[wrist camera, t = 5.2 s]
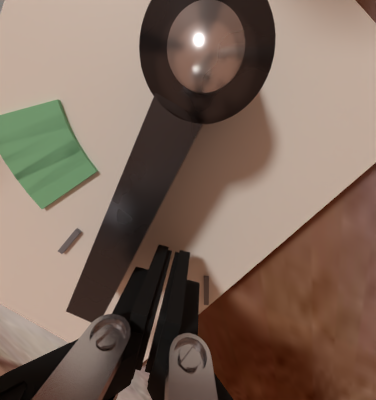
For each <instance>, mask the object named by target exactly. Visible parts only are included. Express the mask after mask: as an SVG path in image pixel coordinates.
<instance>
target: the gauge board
mask: <svg viewBox="0 0 376 400" xmlns="http://www.w3.org/2000/svg"><path fill="white" fill-rule="evenodd" d="M150 1H151V0H5V1H4V4H3V7H2V10H1V14H0V304H2V305H3V306H5V307H7V308H9V309H10V310H12V311H14V312H16V313H17V314H19V315H21V316H23V317H24V318H26V319H28V320H30V321H32V322H33V323H35V324H37V325H39V326H40V327H42V328H44V329H46V330H47V331H49V332H51V333H53V334H54V335H56V336H58V337H60V338H61V339H63V340H65V341H67V342H68V343H71V342H73V341H75V340H77V339H79V338H80V337H81V335H82V334H83V333H84V332H85V330H86V329H87V328H88V326H89V325H90V324H91V322H89V321H86V320H84V319H82V318H80V317H77V316H75V315H73V314H71V313H68V312H66V310H67V307H68V305H69V302H70V300H71V298H72V295H73V293H74V290H75V288H76V285H77V283H78V280H79V278H80V276H81V273H82V271H83V268H84V266H85V263H86V261H87V258H88V256H89V254H90V251H91V249H92V246H93V244H94V241H95V239H96V236H97V234H98V232H99V229H100V227H101V224H102V222H103V219H104V217H105V214H106V212H107V210H108V207H109V205H110V202H111V200H112V197H113V195H114V193H115V190H116V188H117V185H118V183H119V180H120V178H121V175H122V173H123V171H124V168H125V166H126V163H127V161H128V158H129V156H130V153H131V151H132V149H133V146H134V144H135V141H136V139H137V136H138V134H139V131H140V129H141V127H142V124H143V122H144V119H145V117H146V114H147V112H148V110H149V107H150V105H151V102H152V100H153V97H154V96H153V94H152V93H151V91H150V89H149V87H148V85H147V83H146V80H145V78H144V75H143V71H142V68H141V62H140V54H139V40H140V32H141V26H142V22H143V18H144V15H145V12H146V10H147V8H148V5H149V3H150ZM268 2H269V5H270V8H271V11H272V14H273V18H274V23H275V34H276V38H275V51H274V58H273V62H272V66H271V69H270V71H269V74H268V77H267V79H266V81H265V83H264V85H263V87H262V88H261V90H260V91H259V93H258V94H257V95H256V97H255V98H254V99H253V100H252V101H251V102H250V103H249V104H248V105H247V106H246V107H245V108H244V109H243V110H241V111H240V112H239V113H237V114H235V115H234V116H232V117H230V118H228V119H225V120H223V121H220V122H217V123H213V124H206V125H205V124H203V126H202V128H201V130H200V132H199V134H198V136H197V138H196V139H195V141H194V143H193V145H192V147H191V149H190V151H189V153H188V155H187V157H186V159H185V161H184V163H183V165H182V166H181V168H180V170H179V172H178V174H177V176H176V178H175V180H174V182H173V184H172V186H171V188H170V190H169V192H168V194H167V195H166V197H165V199H164V201H163V203H162V205H161V207H160V209H159V211H158V213H157V215H156V217H155V219H154V221H153V222H152V224H151V226H150V228H149V230H148V232H147V234H146V236H145V238H144V240H143V242H142V244H141V246H140V248H139V249H138V251H137V253H136V255H135V257H134V259H133V261H132V263H131V265H130V267H129V269H128V271H127V273H126V275H125V277H124V278H123V280H122V282H121V284H120V286H119V288H118V290H117V292H116V294H115V295H114V297H113V299H112V301H111V303H110V305H109V306H108V308H107V310H106V312H105V314H104V315H107V314H112V312H113V310H114V308H115V306H116V304H117V302H118V300H119V298H120V296H121V294H122V292H123V290H124V288H125V286H126V285H127V283H128V281H129V279H130V277H131V275H132V273H133V271H134V269H135V267H140V268H144V269H149V267H150V264H151V262H152V259H153V257H154V255H155V252H156V250H157V247H158V245H163V246H167V247H169V249H168V250H171V251H172V254H171V258H170V262H169V266H168V270H167V274H166V278H165V281H164V285H163V289H162V293H161V297H160V301H159V305H158V308H157V312H156V316H155V319H154V323H153V327H152V331H151V334H150V338H149V342H148V345H147V349H146V353H145V357H144V360H143V362H144V361H145V360H146V359H148V357H149V353H150V349H151V345H152V341H153V337H154V333H155V329H156V325H157V321H158V317H159V313H160V309H161V305H162V301H163V297H164V293H165V289H166V285H167V281H168V278H169V274H170V270H171V266H172V262H173V258H174V254H175V252H179V251H180V250H183V251H187V252H190V259H189V267H188V275H187V280H191V281H195V282H199V284H200V288H199V312H198V315H199V314H200V313H201V312H202V311H203V310H205V309H206V308H207V307H208V306H209V305H210V304H212V303H213V302H214V301H215V300H216V299H217V298H219V297H220V296H221V295H222V294H223V293H224V292H226V291H227V290H228V289H229V288H230V287H231V286H233V285H234V284H235V283H236V282H237V281H238V280H240V279H241V278H242V277H243V276H244V275H245V274H247V273H248V272H249V271H250V270H251V269H252V268H253V267H255V266H256V265H257V264H258V263H259V262H260V261H262V260H263V259H264V258H265V257H266V256H267V255H269V254H270V253H271V252H272V251H273V250H274V249H276V248H277V247H278V246H279V245H280V244H281V243H283V242H284V241H285V240H286V239H287V238H288V237H290V236H291V235H292V234H293V233H294V232H295V231H297V230H298V229H299V228H300V227H301V226H302V225H304V224H305V223H306V222H307V221H308V220H309V219H311V218H312V217H313V216H314V215H315V214H316V213H318V212H319V211H320V210H321V209H322V208H323V207H324V206H326V205H327V204H328V203H329V202H330V201H331V200H333V199H334V198H335V197H336V196H337V195H338V194H340V193H341V192H342V191H343V190H344V189H345V188H347V187H348V186H349V185H350V184H351V183H352V182H354V181H355V180H356V179H357V178H358V177H359V176H361V175H362V174H363V173H364V172H365V171H366V170H368V169H369V168H370V167H371V166H372V165H373V164H375V163H376V23H375V22H374V21H373V20H372V18H371V17H370V16H369V15H368V14H367V13H366V12H365V10H364V9H363V8H362V7H361V6H360V5H359V4H358V3H357V1H356V0H268Z"/></svg>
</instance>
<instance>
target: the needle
mask: <svg viewBox="0 0 376 400" xmlns="http://www.w3.org/2000/svg"><path fill="white" fill-rule="evenodd" d="M275 38H276V34H275V23H274V18H273V14H272V11H271V8H270V5H269V2H268V0H151V1H150V3H149V5H148V8H147V10H146V12H145V15H144V18H143V22H142V26H141V32H140V40H139V54H140V62H141V68H142V71H143V75H144V78H145V80H146V83H147V85H148V87H149V89H150V91H151V93H152V94H153V96H154V97H153V100H152V102H151V105H150V107H149V110H148V112H147V114H146V117H145V119H144V122H143V124H142V127H141V129H140V131H139V134H138V136H137V139H136V141H135V144H134V146H133V149H132V151H131V153H130V156H129V158H128V161H127V163H126V166H125V168H124V171H123V173H122V175H121V178H120V180H119V183H118V185H117V188H116V190H115V193H114V195H113V197H112V200H111V202H110V205H109V207H108V210H107V212H106V214H105V217H104V219H103V222H102V224H101V227H100V229H99V232H98V234H97V236H96V239H95V241H94V244H93V246H92V249H91V251H90V254H89V256H88V258H87V261H86V263H85V266H84V268H83V271H82V273H81V276H80V278H79V280H78V283H77V285H76V288H75V290H74V293H73V295H72V298H71V300H70V302H69V305H68V307H67V310H66V312H68V313H71V314H73V315H75V316H77V317H80V318H82V319H84V320H86V321H89V322H91V323H92V322H93V321H94V320H95V319H97V318H99V317H100V316H103V315H104V314H105V312H106V310H107V308H108V306H109V305H110V303H111V301H112V299H113V297H114V295H115V294H116V292H117V290H118V288H119V286H120V284H121V282H122V280H123V278H124V277H125V275H126V273H127V271H128V269H129V267H130V265H131V263H132V261H133V259H134V257H135V255H136V253H137V251H138V249H139V248H140V246H141V244H142V242H143V240H144V238H145V236H146V234H147V232H148V230H149V228H150V226H151V224H152V222H153V221H154V219H155V217H156V215H157V213H158V211H159V209H160V207H161V205H162V203H163V201H164V199H165V197H166V195H167V194H168V192H169V190H170V188H171V186H172V184H173V182H174V180H175V178H176V176H177V174H178V172H179V170H180V168H181V166H182V165H183V163H184V161H185V159H186V157H187V155H188V153H189V151H190V149H191V147H192V145H193V143H194V141H195V139H196V138H197V136H198V134H199V132H200V130H201V128H202V126H203V124H205V125H206V124H213V123H217V122H220V121H223V120H225V119H228V118H230V117H232V116H234V115H235V114H237V113H239V112H240V111H241V110H243V109H244V108H245V107H246V106H247V105H248V104H249V103H250V102H251V101H252V100H253V99H254V98H255V97H256V95H257V94H258V93H259V91H260V90H261V88H262V87H263V85H264V83H265V81H266V79H267V77H268V74H269V71H270V69H271V66H272V62H273V58H274V51H275Z"/></svg>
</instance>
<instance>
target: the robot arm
mask: <svg viewBox="0 0 376 400" xmlns="http://www.w3.org/2000/svg"><path fill="white" fill-rule="evenodd" d="M168 249H169V247H167V246H163V245H158V247H157V250H156V252H155V255H154V257H153V259H152V262H151V264H150V267H149V269H144V268H140V267H135V269H134V271H133V273H132V275H131V277H130V279H129V281H128V283H127V285H126V286H125V288H124V290H123V292H122V294H121V296H120V298H119V300H118V302H117V304H116V306H115V308H114V310H113V312H112V314H107V315H103V316H100V317H99V318H97V319H95V320H94V321H93V322H92V323H91V324H90V325H89V326H88V328H87V329H86V330H85V332H84V333H83V334H82V335H81V337H80V338H79V339H77V340H75V341H73V342H71V343H69V344H66V345H64V346H62V347H60V348H58V349H56V350H54V351H52V352H49V353H47V354H45V355H43V356H41V357H39V358H37V359H35V360H33V361H30V362H28V363H26V364H24V365H22V366H20V367H18V368H16V369H13V370H11V371H9V372H7V373H5V374H4V375H2V376H0V400H116V399H117V396H118V393H119V392H120V391H122V390H123V389H125V388H126V387H127V386H129V385H130V384H131V380H132V379H133V376H134V373H135V370H136V369H137V370H141V368H142V364H143V360H144V357H145V353H146V349H147V345H148V342H149V338H150V334H151V331H152V327H153V323H154V319H155V316H156V312H157V308H158V305H159V301H160V297H161V293H162V289H163V285H164V281H165V278H166V274H167V270H168V266H169V262H170V258H171V254H172V251H171V250H168ZM189 259H190V252H187V251H183V250H180V251H179V252H175V254H174V258H173V262H172V266H171V270H170V274H169V278H168V281H167V285H166V289H165V293H164V297H163V301H162V305H161V309H160V313H159V317H158V321H157V325H156V329H155V333H154V337H153V341H152V345H151V349H150V353H149V357H148V361H147V365H146V369H145V372H149V373H150V375H149V379H148V387H147V389H148V391H149V394H150V396H151V398H152V400H233V398H232V397H231V396H230V394H229V393H228V392H227V390H226V389H225V387H224V386H223V385H222V383H221V382H220V380H219V379H218V378H217V376H216V375H215V374H214V371H213V365H212V358H211V354H210V350H209V348H208V346H207V344H206V343H205V342H204V341H203V340H202V339H201V338H200V337H198V312H199V288H200V284H199V282H195V281H191V280H187V275H188V267H189Z"/></svg>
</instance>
